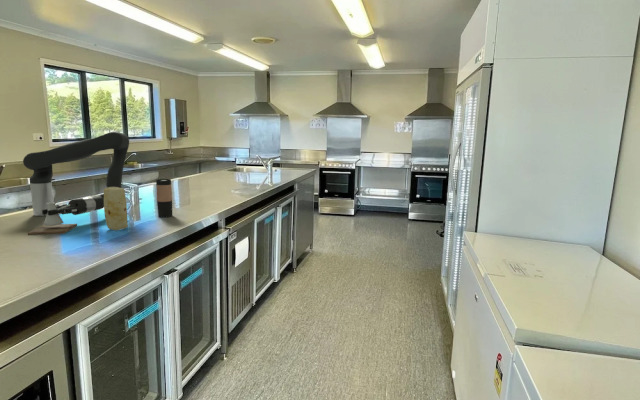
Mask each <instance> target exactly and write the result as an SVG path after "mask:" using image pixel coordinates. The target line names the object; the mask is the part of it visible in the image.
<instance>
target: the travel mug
mask: <svg viewBox="0 0 640 400" xmlns="http://www.w3.org/2000/svg"><path fill="white" fill-rule="evenodd" d="M155 184H156V204H157V215H158V217H159V218H170V217H173V191H172V190H173V189H172V180H171V178H160V179H159V178H158V179H156V180H155Z"/></svg>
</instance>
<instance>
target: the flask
mask: <svg viewBox="0 0 640 400" xmlns="http://www.w3.org/2000/svg"><path fill="white" fill-rule="evenodd" d="M56 203H57V202H51V203H46V204H47V205H48V211H49V210H54V209H56V208H55V205H57V204H56ZM60 224H65V222H64V221H63V219H62V217H61V216H60V214H55V215H48V212H47V215H45V219H44V222H43V224H42V225H45V226H54V225H60Z"/></svg>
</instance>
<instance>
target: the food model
mask: <svg viewBox="0 0 640 400" xmlns="http://www.w3.org/2000/svg"><path fill="white" fill-rule="evenodd" d="M103 194H104V208H103V212H104V217H105V224H106V226H107V228H108V230H109V229H110V230H112V231H115V232H116V231H121V230H124V229H127V228H128V227H129V226H128V225H129V224H128V205H127V204H128V203H127V197H126V190H125V188H123V187H122V188H119V187H108V188H107V187H106V188H103Z"/></svg>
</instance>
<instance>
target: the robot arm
mask: <svg viewBox="0 0 640 400" xmlns="http://www.w3.org/2000/svg"><path fill="white" fill-rule="evenodd" d="M129 147H130V139H129V137H128V136H127V134H125V133H121V132H119V131H109V132H106V133H105V134H102V135H99V136H96V137H93V138H86V139H84V140H77V141H74V142H71V143H70V142H69V143H67V144H63V145H61V146H58V147H55V148H51V149H49V150H43V151H38V152H37V151H36V152H30V153H28V154H26V155H25V156H24V157H23V159H22V164H23V166H24V167H25V168H26V169H28V170H31V171H33V174H32V175H31V176H30V177H29V186H30V196H31V203H32V212H33V216H37V217H41V216H42V217H43V216H45V217H46V215H47V212H48V215H55V214H59V215H70V214H71V215H74V216H77V215H83V214H87V213H88V214H89V213H91V212H94V211H95V212H96V211H98V210H102V209H104V193H102V194H99V195H96V196H95V195H94V196H90V197H89V196H88V197H87V196H86V197H80V198H73V199H71V200H69V201H68V203H63V204H55V208H56V209H54V210H49V211H48V205H47V204H46V203H51V202H54V201H55V200H54V192H53V183H52V181H53V180H52V179H53V165H56V164H64V163H70V162H71V163H72V162H75V161H80V160H83V159H87V158H89V157H91V156H93V155H94V154H97V153H99V152H103V151H107V150H113V156H112V160H111V163H110V165H109V167H108V170H107V175H106V182H105V183H106V184H105V185H106V188H108V187H119V188H123V187H122V184H123V173H124V167H125V166H124V165H125V161H126V157H127V153H128V150H129ZM54 203H55V202H54Z"/></svg>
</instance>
